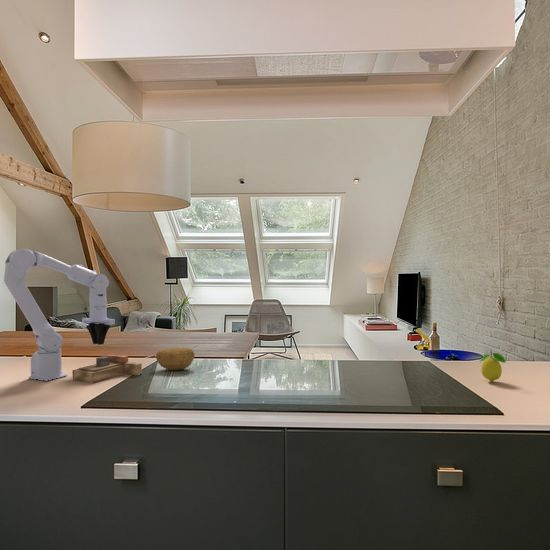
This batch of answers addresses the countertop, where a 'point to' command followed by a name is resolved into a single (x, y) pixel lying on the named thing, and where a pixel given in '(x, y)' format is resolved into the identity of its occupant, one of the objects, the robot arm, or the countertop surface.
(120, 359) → the wooden bar
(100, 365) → the lid
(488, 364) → the lemon
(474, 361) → the countertop surface
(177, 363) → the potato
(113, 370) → the toolbox
